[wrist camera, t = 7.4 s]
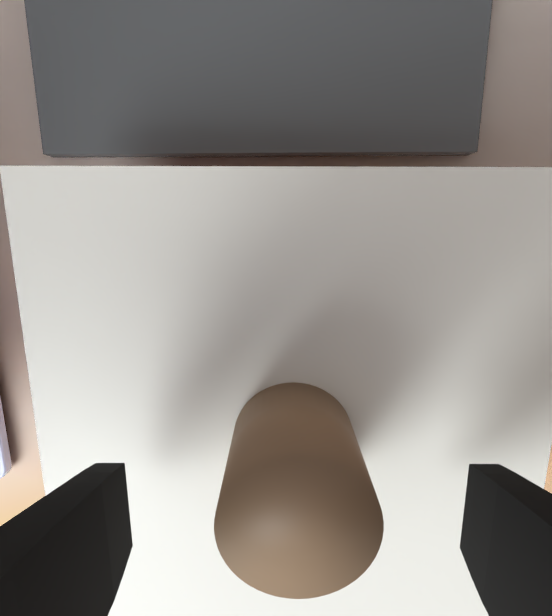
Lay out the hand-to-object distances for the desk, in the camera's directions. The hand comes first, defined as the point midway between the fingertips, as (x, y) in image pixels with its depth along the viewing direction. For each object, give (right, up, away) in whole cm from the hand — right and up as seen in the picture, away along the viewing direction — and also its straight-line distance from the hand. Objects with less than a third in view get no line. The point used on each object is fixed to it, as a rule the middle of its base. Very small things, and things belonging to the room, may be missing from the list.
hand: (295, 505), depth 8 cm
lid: (0, +1, +3) cm, 3 cm away
